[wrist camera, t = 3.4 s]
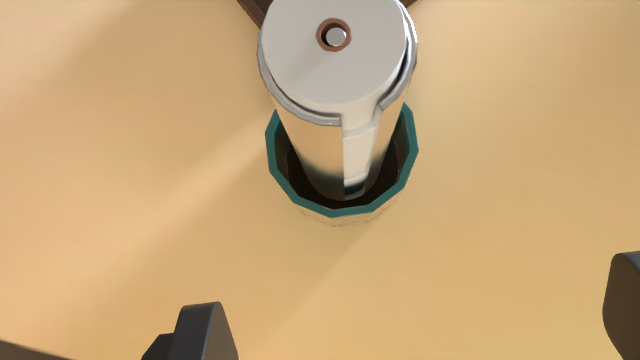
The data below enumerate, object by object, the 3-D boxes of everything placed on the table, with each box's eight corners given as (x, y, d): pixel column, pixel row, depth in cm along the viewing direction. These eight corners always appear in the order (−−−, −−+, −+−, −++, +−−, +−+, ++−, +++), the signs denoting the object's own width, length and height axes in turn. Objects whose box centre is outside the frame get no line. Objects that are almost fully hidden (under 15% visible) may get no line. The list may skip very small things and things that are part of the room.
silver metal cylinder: (297, 192, 44) (234, 102, 19) (312, 120, 45) (271, -54, 20) (372, 207, 43) (405, 133, 19) (386, 134, 44) (435, -28, 20)
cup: (352, 80, 45) (354, 41, 37) (429, 173, 44) (447, 154, 36) (256, 152, 45) (237, 129, 37) (330, 250, 43) (327, 247, 35)
